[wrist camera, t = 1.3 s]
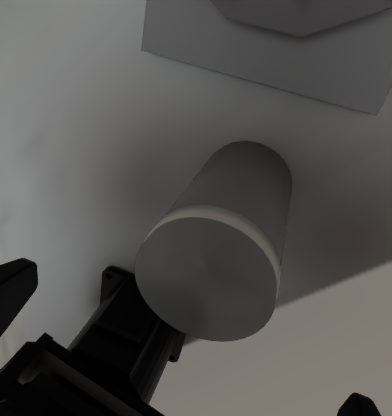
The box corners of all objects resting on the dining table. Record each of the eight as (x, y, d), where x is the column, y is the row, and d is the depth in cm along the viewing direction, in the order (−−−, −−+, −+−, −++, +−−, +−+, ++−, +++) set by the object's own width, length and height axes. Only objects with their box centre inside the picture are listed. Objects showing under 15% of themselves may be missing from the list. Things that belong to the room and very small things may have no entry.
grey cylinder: (275, 235, 18) (251, 361, 11) (194, 207, 19) (126, 310, 12) (307, 157, 15) (301, 258, 9) (213, 128, 16) (141, 201, 9)
